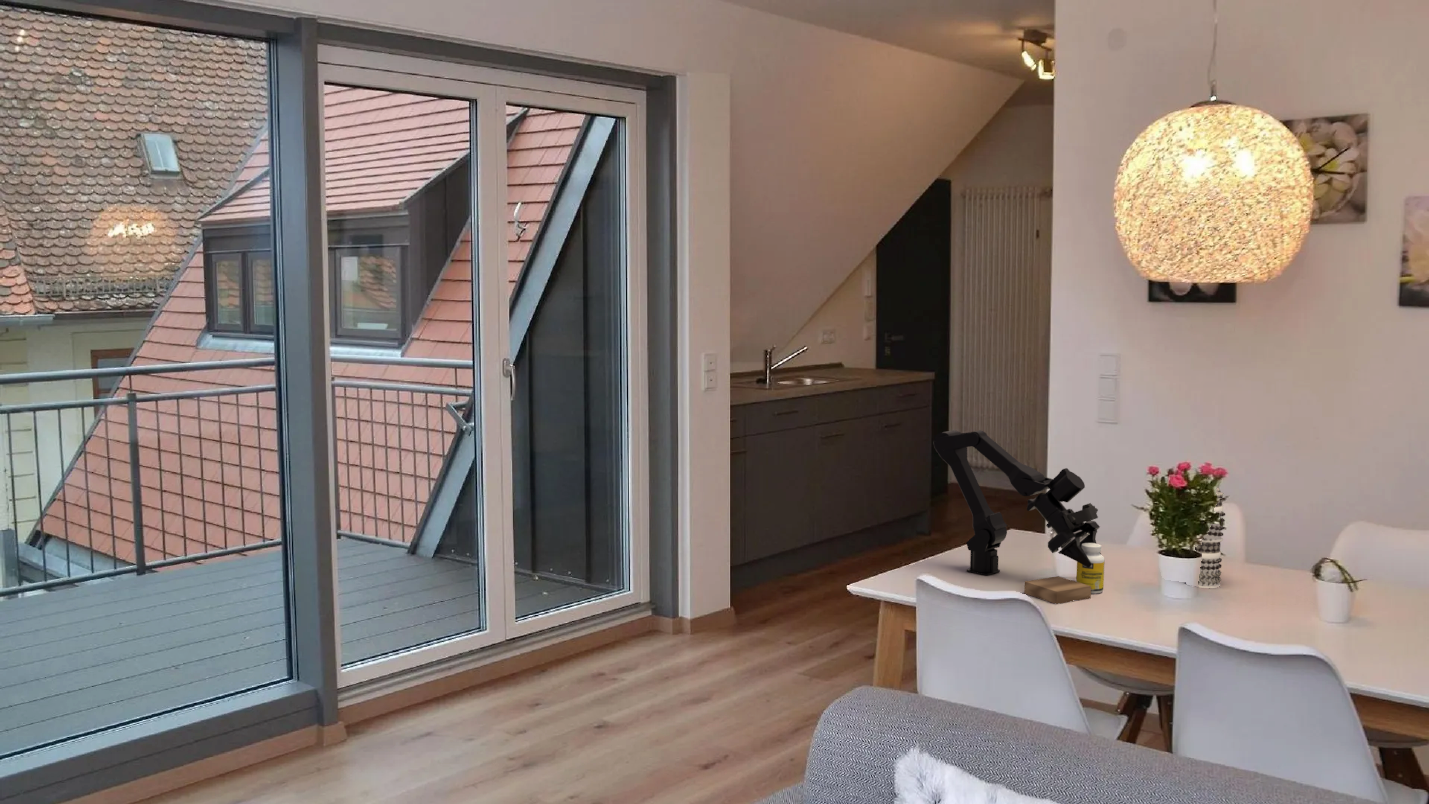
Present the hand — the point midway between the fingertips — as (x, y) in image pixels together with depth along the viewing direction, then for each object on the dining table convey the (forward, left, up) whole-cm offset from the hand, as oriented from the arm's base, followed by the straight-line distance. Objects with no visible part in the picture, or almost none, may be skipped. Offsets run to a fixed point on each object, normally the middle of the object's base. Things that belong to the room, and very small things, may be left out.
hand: (1096, 563), depth 295 cm
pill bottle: (-1, 0, -7) cm, 7 cm away
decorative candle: (+15, +27, -7) cm, 31 cm away
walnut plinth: (-4, -10, -7) cm, 13 cm away
